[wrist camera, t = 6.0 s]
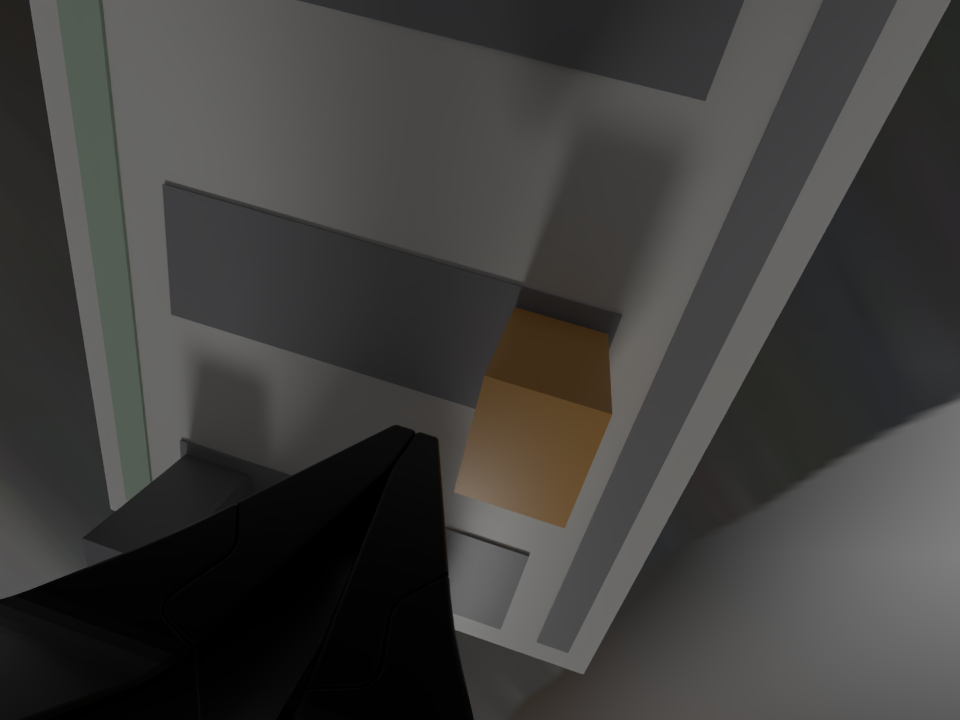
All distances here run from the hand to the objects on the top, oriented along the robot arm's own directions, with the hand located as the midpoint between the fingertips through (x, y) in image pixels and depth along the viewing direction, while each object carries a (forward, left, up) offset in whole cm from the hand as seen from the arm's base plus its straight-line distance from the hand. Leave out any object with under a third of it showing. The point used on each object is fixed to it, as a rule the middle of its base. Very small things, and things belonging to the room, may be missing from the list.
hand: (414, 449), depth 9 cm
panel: (0, +3, -7) cm, 8 cm away
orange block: (0, -2, -5) cm, 6 cm away
